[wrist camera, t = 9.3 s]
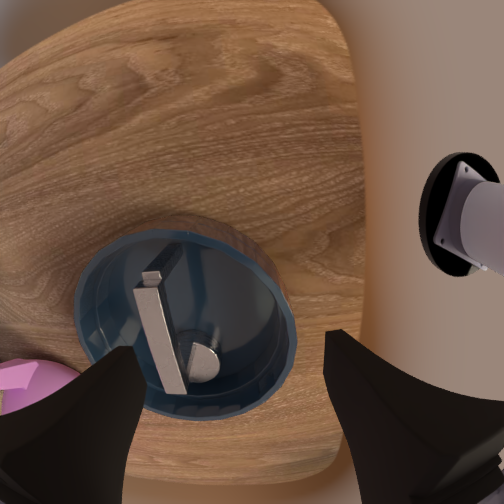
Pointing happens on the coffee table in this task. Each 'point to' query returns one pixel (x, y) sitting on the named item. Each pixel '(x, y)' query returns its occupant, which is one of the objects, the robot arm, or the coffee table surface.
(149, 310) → the disc with bar handle
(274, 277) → the bowl
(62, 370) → the teapot
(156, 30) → the coffee table surface
